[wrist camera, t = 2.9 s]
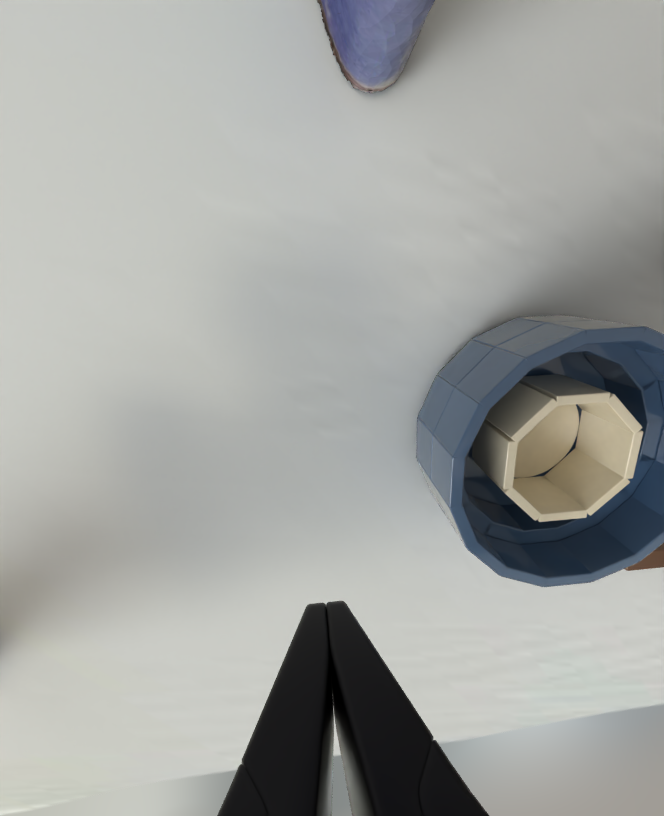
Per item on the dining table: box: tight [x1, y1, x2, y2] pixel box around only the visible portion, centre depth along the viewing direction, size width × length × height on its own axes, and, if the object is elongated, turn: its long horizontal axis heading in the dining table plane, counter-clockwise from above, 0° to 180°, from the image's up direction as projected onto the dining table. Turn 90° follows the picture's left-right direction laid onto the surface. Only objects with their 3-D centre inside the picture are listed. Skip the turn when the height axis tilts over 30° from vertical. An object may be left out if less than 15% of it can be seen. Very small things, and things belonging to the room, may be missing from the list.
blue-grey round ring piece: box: [416, 315, 664, 587], centre depth 17 cm, size 11×11×5 cm
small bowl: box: [472, 374, 643, 522], centre depth 17 cm, size 6×6×3 cm
